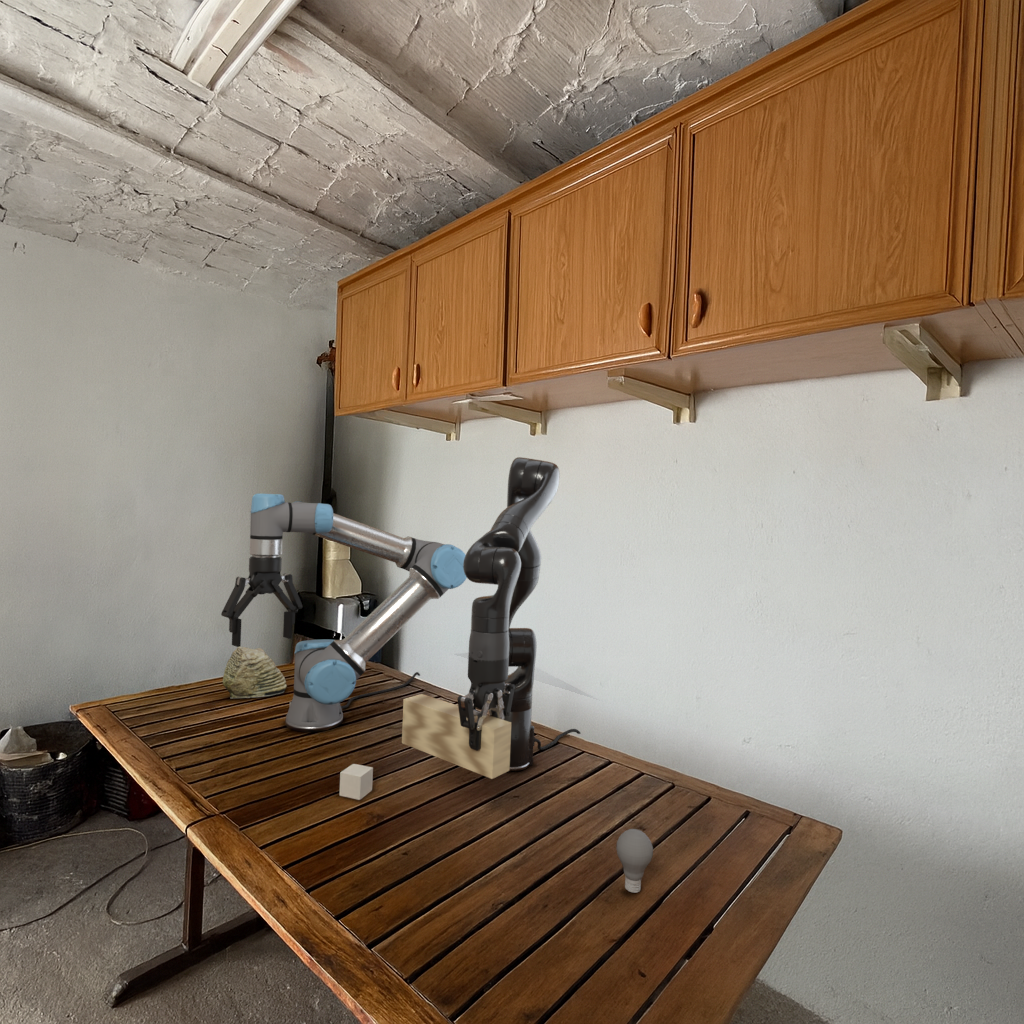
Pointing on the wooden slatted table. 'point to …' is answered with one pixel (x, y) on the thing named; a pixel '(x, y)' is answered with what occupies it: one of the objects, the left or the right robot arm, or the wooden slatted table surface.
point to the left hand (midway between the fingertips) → (262, 641)
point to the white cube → (356, 781)
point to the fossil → (252, 674)
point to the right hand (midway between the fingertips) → (485, 744)
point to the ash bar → (455, 736)
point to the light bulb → (634, 857)
